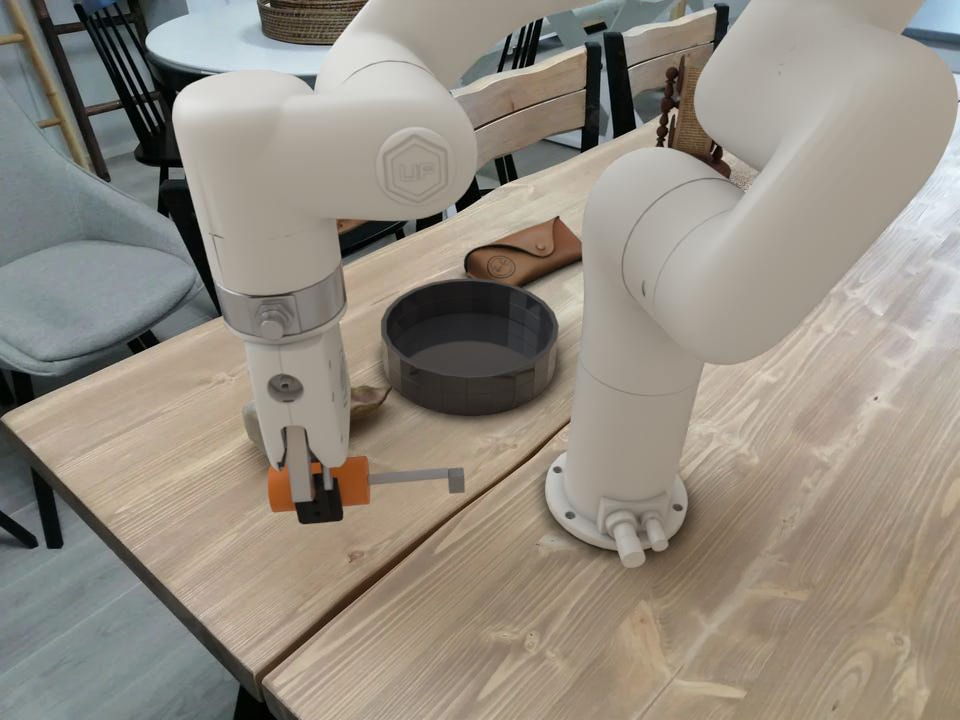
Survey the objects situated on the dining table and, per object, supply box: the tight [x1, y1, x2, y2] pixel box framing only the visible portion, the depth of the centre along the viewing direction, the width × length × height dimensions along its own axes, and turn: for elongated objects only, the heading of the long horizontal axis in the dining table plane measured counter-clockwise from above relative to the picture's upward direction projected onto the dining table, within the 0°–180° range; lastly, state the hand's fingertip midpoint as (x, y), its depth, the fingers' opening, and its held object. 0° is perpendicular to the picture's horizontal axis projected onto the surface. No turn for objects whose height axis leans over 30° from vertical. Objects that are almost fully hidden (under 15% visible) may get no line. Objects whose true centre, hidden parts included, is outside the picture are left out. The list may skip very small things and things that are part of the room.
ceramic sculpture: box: [241, 385, 393, 458], centre depth 71 cm, size 11×9×15 cm
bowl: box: [380, 277, 560, 416], centre depth 82 cm, size 19×19×5 cm
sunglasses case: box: [463, 215, 582, 288], centre depth 101 cm, size 18×7×7 cm
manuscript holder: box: [654, 54, 732, 180], centre depth 120 cm, size 15×15×20 cm
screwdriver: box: [267, 455, 466, 514], centre depth 55 cm, size 14×4×4 cm, turn 96°
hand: (323, 495), depth 56 cm, fingers closed on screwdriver, 3 cm apart
